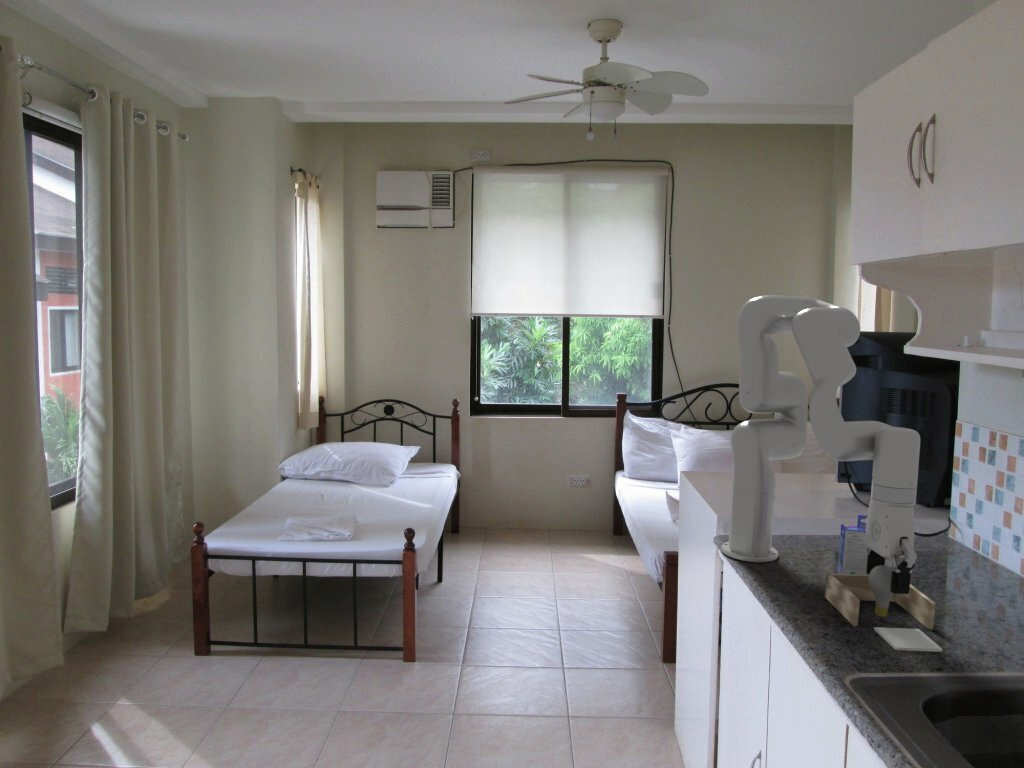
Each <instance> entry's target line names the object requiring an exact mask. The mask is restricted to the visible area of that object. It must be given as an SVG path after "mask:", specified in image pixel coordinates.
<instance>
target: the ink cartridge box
mask: <svg viewBox="0 0 1024 768" xmlns="http://www.w3.org/2000/svg"><path fill="white" fill-rule="evenodd" d="M865 519H866V520H867V515H863V514H857V524H844V523H842V524H840V535H839V536H840V537H839V551H838V564H837V574H857V575H868V574H867V573H866V571H867V556H868V553H867V548H868V546H867V545H866V544H865V530H866V522H863V521H862V520H865ZM885 565H886V566H889V567H892V568H893V564H892V560H891V557H890V558H889V559H885Z"/></svg>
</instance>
